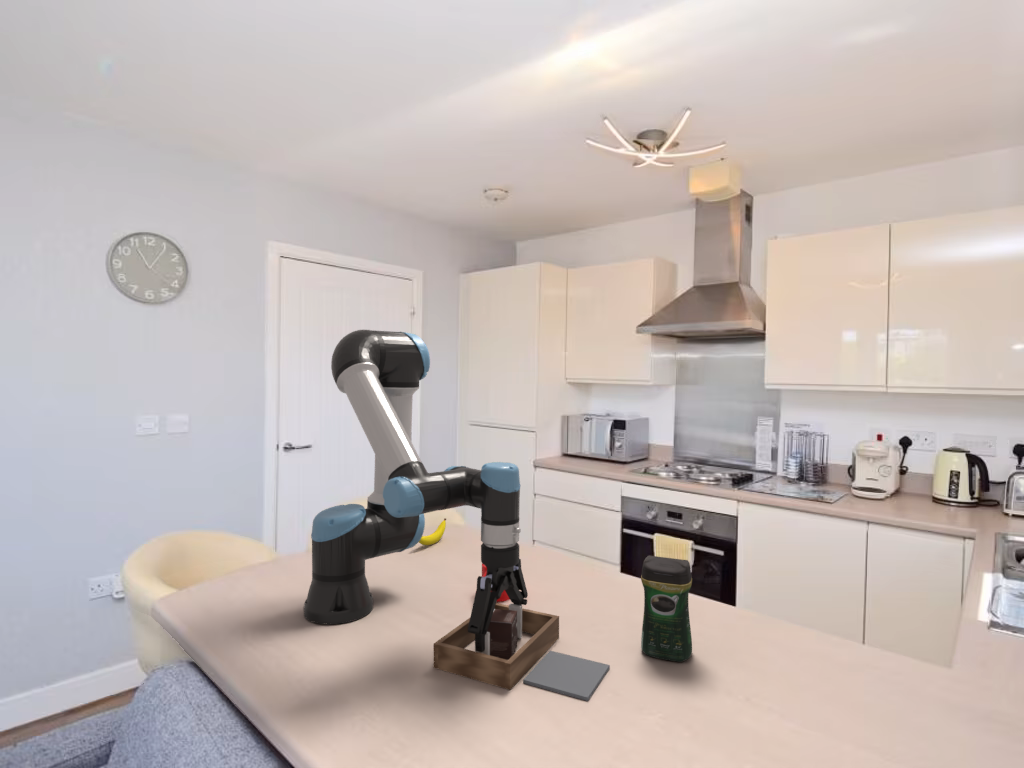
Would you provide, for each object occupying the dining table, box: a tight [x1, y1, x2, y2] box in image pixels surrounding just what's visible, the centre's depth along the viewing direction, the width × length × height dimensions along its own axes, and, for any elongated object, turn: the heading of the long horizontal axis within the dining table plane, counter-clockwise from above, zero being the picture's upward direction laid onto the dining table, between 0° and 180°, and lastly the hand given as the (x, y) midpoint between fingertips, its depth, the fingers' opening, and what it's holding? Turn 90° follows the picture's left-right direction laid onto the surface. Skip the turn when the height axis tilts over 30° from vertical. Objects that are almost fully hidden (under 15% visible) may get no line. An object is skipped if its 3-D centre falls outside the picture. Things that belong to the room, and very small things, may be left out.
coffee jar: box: [640, 555, 693, 663], centre depth 111 cm, size 10×8×19 cm
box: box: [487, 609, 518, 660], centre depth 111 cm, size 6×6×7 cm
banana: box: [418, 518, 447, 546], centre depth 181 cm, size 3×19×6 cm, turn 158°
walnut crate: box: [433, 602, 560, 691], centre depth 111 cm, size 16×22×4 cm
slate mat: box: [522, 650, 611, 702], centre depth 102 cm, size 12×12×1 cm
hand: (499, 650), depth 111 cm, fingers open, 13 cm apart
